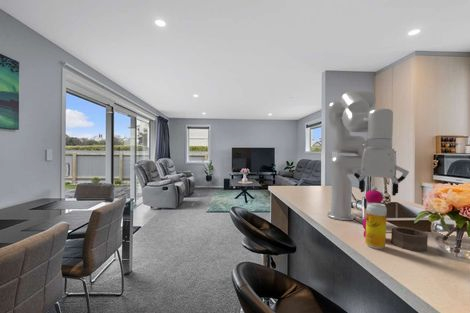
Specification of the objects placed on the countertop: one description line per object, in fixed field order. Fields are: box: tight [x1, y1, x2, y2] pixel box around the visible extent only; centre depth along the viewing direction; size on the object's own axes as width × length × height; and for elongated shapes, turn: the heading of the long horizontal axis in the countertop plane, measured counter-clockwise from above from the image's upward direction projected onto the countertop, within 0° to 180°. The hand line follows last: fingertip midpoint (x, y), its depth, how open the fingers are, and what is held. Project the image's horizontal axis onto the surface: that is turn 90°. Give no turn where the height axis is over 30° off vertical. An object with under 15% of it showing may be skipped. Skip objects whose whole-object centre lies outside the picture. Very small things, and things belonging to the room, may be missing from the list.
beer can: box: [364, 203, 388, 250], centre depth 85 cm, size 6×6×15 cm
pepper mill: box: [362, 186, 384, 238], centre depth 94 cm, size 7×7×20 cm
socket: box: [390, 226, 429, 252], centre depth 87 cm, size 10×10×5 cm
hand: (377, 193), depth 84 cm, fingers open, 9 cm apart
